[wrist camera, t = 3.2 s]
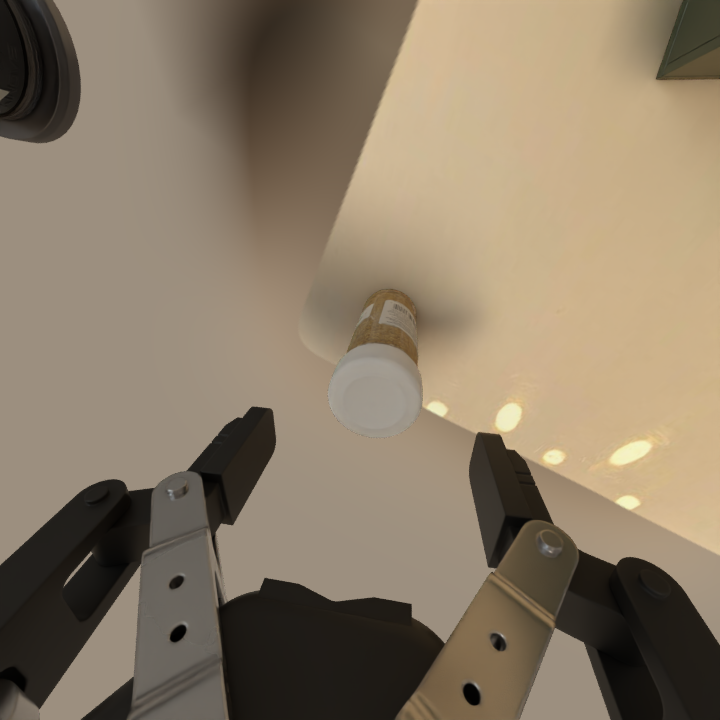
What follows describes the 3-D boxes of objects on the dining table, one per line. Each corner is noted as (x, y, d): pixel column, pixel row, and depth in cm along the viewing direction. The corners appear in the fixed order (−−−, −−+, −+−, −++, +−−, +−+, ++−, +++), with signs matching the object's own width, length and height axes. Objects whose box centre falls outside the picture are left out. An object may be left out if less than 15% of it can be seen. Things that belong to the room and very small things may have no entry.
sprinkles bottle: (353, 302, 27) (307, 380, 15) (403, 278, 25) (398, 343, 13) (377, 347, 28) (352, 452, 16) (425, 328, 27) (438, 426, 15)
